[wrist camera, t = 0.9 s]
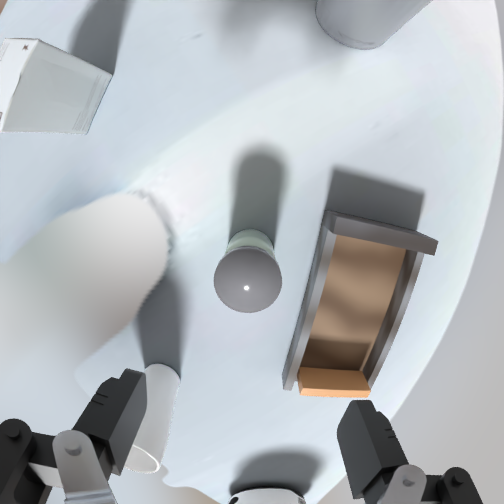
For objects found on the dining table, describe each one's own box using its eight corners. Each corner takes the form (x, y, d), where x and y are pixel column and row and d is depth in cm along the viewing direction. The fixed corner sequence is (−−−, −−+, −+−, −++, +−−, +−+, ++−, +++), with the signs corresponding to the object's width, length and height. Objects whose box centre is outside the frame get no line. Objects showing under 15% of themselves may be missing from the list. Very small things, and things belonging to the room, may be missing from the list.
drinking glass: (186, 362, 36) (156, 449, 21) (186, 397, 38) (163, 479, 23) (138, 353, 36) (94, 431, 21) (142, 388, 38) (108, 463, 23)
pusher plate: (298, 366, 34) (302, 387, 30) (361, 370, 35) (371, 390, 31) (296, 373, 35) (300, 395, 31) (358, 377, 35) (367, 397, 31)
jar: (229, 223, 31) (218, 243, 22) (279, 231, 31) (288, 255, 22) (222, 270, 32) (209, 306, 24) (270, 278, 32) (274, 317, 24)
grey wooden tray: (324, 209, 30) (336, 216, 25) (416, 231, 31) (438, 241, 26) (281, 375, 36) (284, 400, 31) (362, 380, 36) (372, 403, 32)
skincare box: (82, 67, 26) (5, 32, 11) (116, 75, 26) (39, 33, 12) (55, 127, 28) (-31, 119, 13) (87, 140, 28) (-3, 133, 14)
